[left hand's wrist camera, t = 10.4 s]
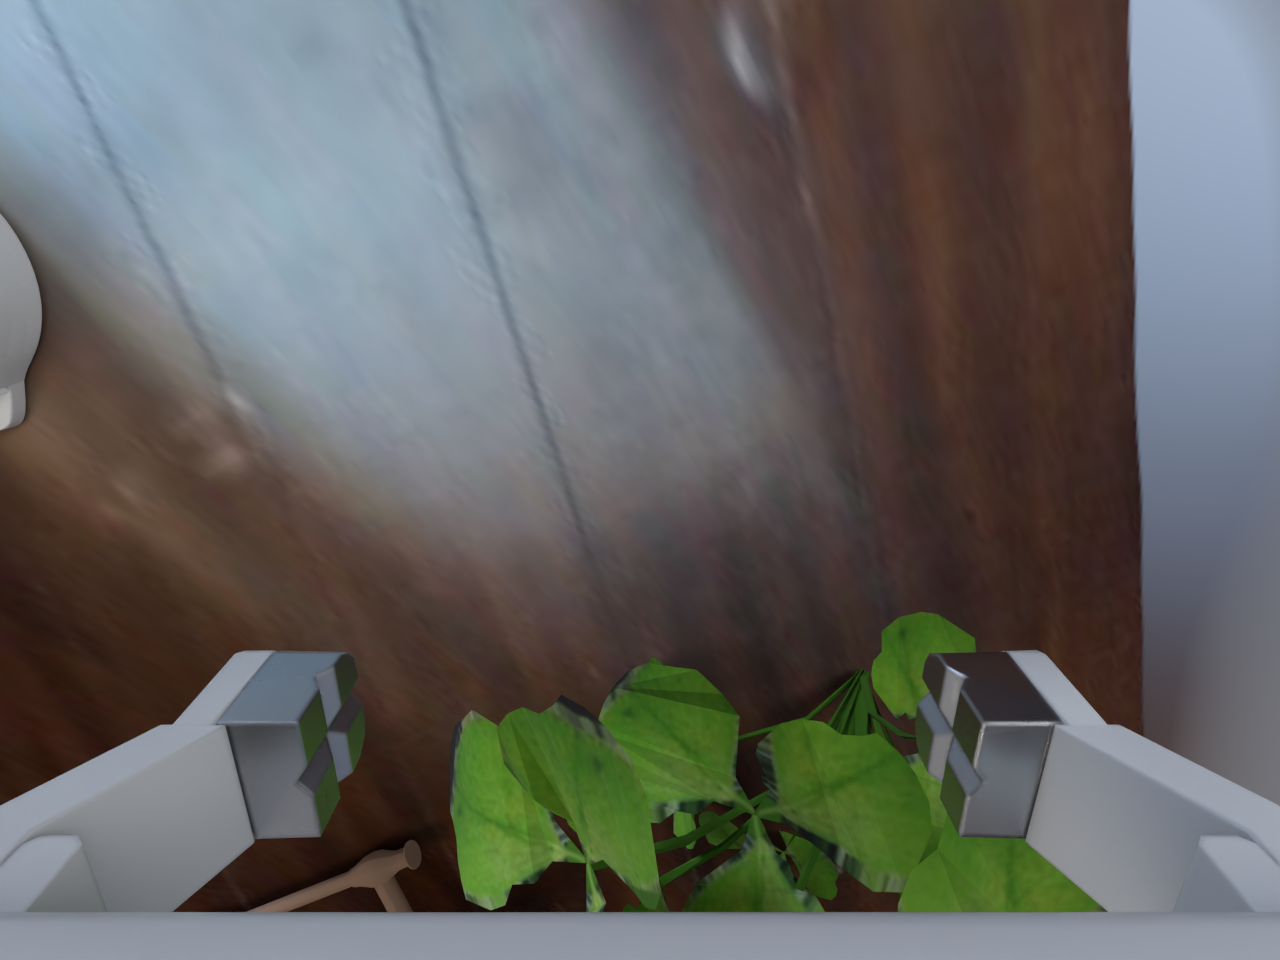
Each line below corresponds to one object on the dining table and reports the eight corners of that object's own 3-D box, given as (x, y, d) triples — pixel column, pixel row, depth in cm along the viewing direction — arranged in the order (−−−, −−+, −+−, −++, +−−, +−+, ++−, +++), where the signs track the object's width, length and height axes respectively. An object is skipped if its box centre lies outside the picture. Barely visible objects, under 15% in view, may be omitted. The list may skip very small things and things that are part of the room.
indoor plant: (1274, 871, 50) (1465, 1622, 29) (735, 821, 74) (626, 1220, 53) (1175, 320, 31) (1524, 1364, 10) (487, 490, 54) (159, 910, 33)
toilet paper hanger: (432, 807, 61) (389, 871, 53) (494, 925, 62) (461, 1005, 54) (177, 910, 65) (103, 983, 58) (238, 1019, 66) (173, 1105, 59)
